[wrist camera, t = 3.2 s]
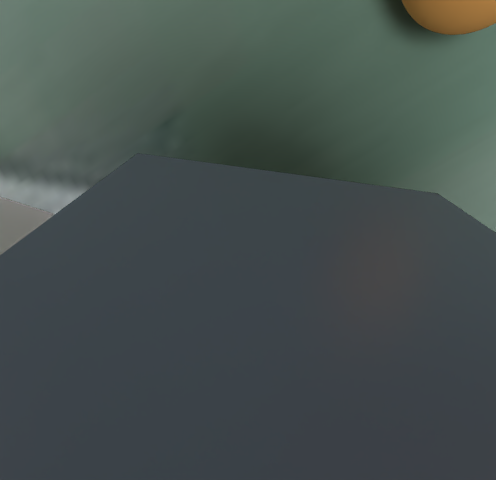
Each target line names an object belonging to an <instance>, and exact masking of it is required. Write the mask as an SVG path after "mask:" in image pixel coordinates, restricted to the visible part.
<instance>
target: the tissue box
mask: <svg viewBox="0 0 496 480" xmlns="http://www.w3.org/2000/svg"><path fill="white" fill-rule="evenodd" d="M52 216H53V213H50V212H47V211H43V210H40V209H37V208H34V207H31V206H28V205H24V204H21V203H18V202H15V201H12V200H9V199H5V198H2V197H0V255H1V254H2V253H4V252H5V251H6V250H8V249H9V248H11V247H12V246H13V245H15V244H16V243H17V242H19V241H20V240H21V239H23V238H24V237H25V236H27V235H28V234H29V233H31V232H32V231H33V230H35V229H36V228H37V227H39V226H40V225H42V224H43V223H44V222H46V221H47V220H48V219H50V218H51V217H52Z"/></svg>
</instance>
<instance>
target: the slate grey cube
mask: <svg viewBox="0 0 496 480" xmlns="http://www.w3.org/2000/svg"><path fill="white" fill-rule="evenodd" d="M0 480H496V233H495V232H494V231H492V230H491V229H490V228H488V227H487V226H485V225H484V224H482V223H481V222H479V221H478V220H476V219H475V218H473V217H472V216H470V215H469V214H467V213H466V212H464V211H463V210H461V209H460V208H458V207H457V206H455V205H454V204H452V203H451V202H449V201H448V200H447V199H445V198H444V197H442V196H441V195H439V194H438V193H430V192H423V191H415V190H408V189H401V188H393V187H386V186H378V185H371V184H363V183H356V182H348V181H341V180H334V179H326V178H319V177H311V176H304V175H296V174H289V173H282V172H274V171H267V170H259V169H252V168H244V167H237V166H230V165H222V164H215V163H207V162H200V161H192V160H185V159H177V158H170V157H163V156H155V155H148V154H140V153H137V154H136V155H134V156H133V157H132V158H130V159H129V160H128V161H126V162H125V163H124V164H122V165H121V166H120V167H118V168H117V169H116V170H114V171H113V172H112V173H110V174H109V175H108V176H106V177H105V178H103V179H102V180H101V181H99V182H98V183H97V184H95V185H94V186H93V187H91V188H90V189H89V190H87V191H86V192H85V193H83V194H82V195H81V196H79V197H78V198H77V199H75V200H74V201H72V202H71V203H70V204H68V205H67V206H66V207H64V208H63V209H62V210H60V211H59V212H58V213H56V214H55V215H54V216H52V217H51V218H50V219H48V220H47V221H46V222H44V223H43V224H42V225H40V226H39V227H37V228H36V229H35V230H33V231H32V232H31V233H29V234H28V235H27V236H25V237H24V238H23V239H21V240H20V241H19V242H17V243H16V244H15V245H13V246H12V247H11V248H9V249H8V250H6V251H5V252H4V253H2V254H1V255H0Z"/></svg>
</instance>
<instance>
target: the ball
mask: <svg viewBox="0 0 496 480" xmlns="http://www.w3.org/2000/svg"><path fill="white" fill-rule="evenodd" d="M402 2H403V5H404V7H405V8H406V10H407V12H408V13H409V14H410V16H411V17H412V18H413V19H414V20H415V21H416V22H417V23H418V24H419V25H421V26H423V27H424V28H426V29H428V30H431V31H433V32H436V33H441V34H448V35H457V34H466V33H471V32H475V31H478V30H481V29H484V28H486V27H488V26H490V25H492V24H494V23H496V0H402Z"/></svg>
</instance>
